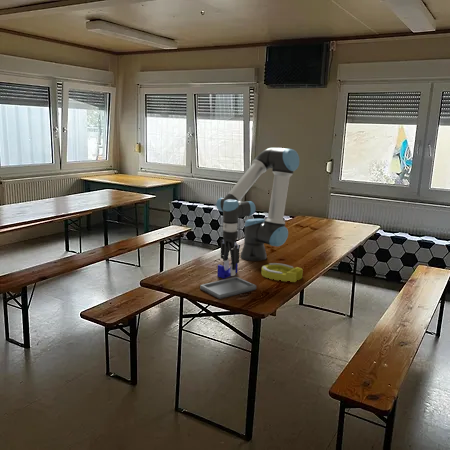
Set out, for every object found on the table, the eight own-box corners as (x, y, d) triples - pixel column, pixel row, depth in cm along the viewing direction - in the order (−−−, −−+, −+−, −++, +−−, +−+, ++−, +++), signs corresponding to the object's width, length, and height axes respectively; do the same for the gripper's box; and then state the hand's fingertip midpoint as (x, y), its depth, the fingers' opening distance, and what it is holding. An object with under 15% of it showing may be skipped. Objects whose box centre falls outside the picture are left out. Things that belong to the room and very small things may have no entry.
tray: (236, 280, 228) (236, 276, 227) (256, 289, 216) (256, 285, 216) (200, 289, 215) (200, 285, 214) (219, 299, 203) (219, 294, 203)
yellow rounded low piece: (291, 284, 225) (291, 275, 224) (255, 275, 237) (255, 266, 236) (305, 276, 238) (306, 267, 237) (271, 268, 250) (271, 259, 249)
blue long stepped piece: (223, 278, 230) (224, 267, 228) (217, 276, 233) (217, 265, 231) (239, 273, 238) (239, 262, 237) (233, 271, 241) (233, 260, 240)
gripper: (213, 227, 235) (213, 270, 240) (235, 235, 221) (234, 280, 227) (225, 226, 239) (224, 268, 245) (247, 233, 226) (246, 277, 231)
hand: (229, 273), depth 236 cm, fingers closed on blue long stepped piece, 5 cm apart
